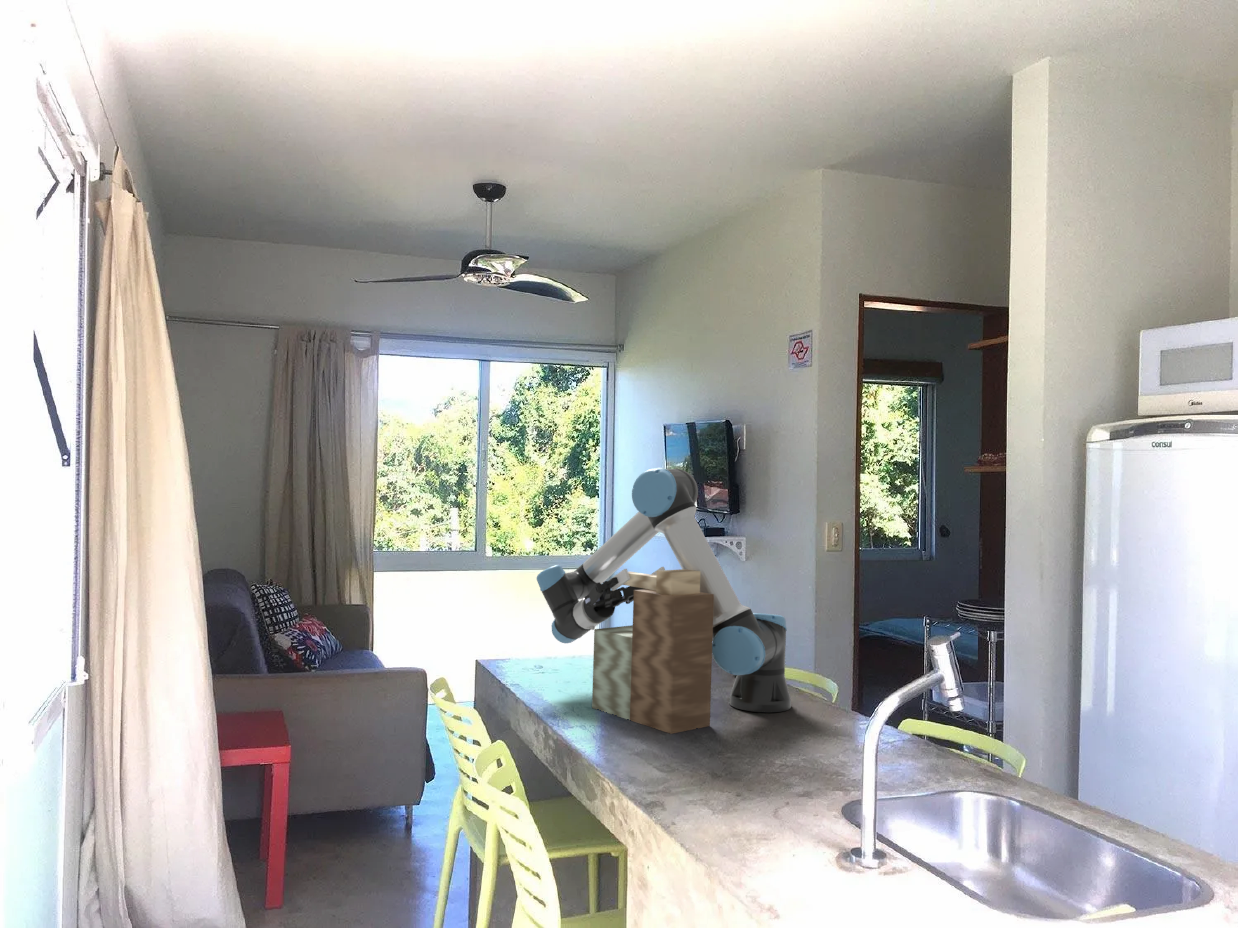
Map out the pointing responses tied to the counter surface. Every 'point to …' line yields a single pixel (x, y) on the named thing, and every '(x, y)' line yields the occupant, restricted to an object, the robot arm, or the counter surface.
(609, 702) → the step stand
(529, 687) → the counter surface
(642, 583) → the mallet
